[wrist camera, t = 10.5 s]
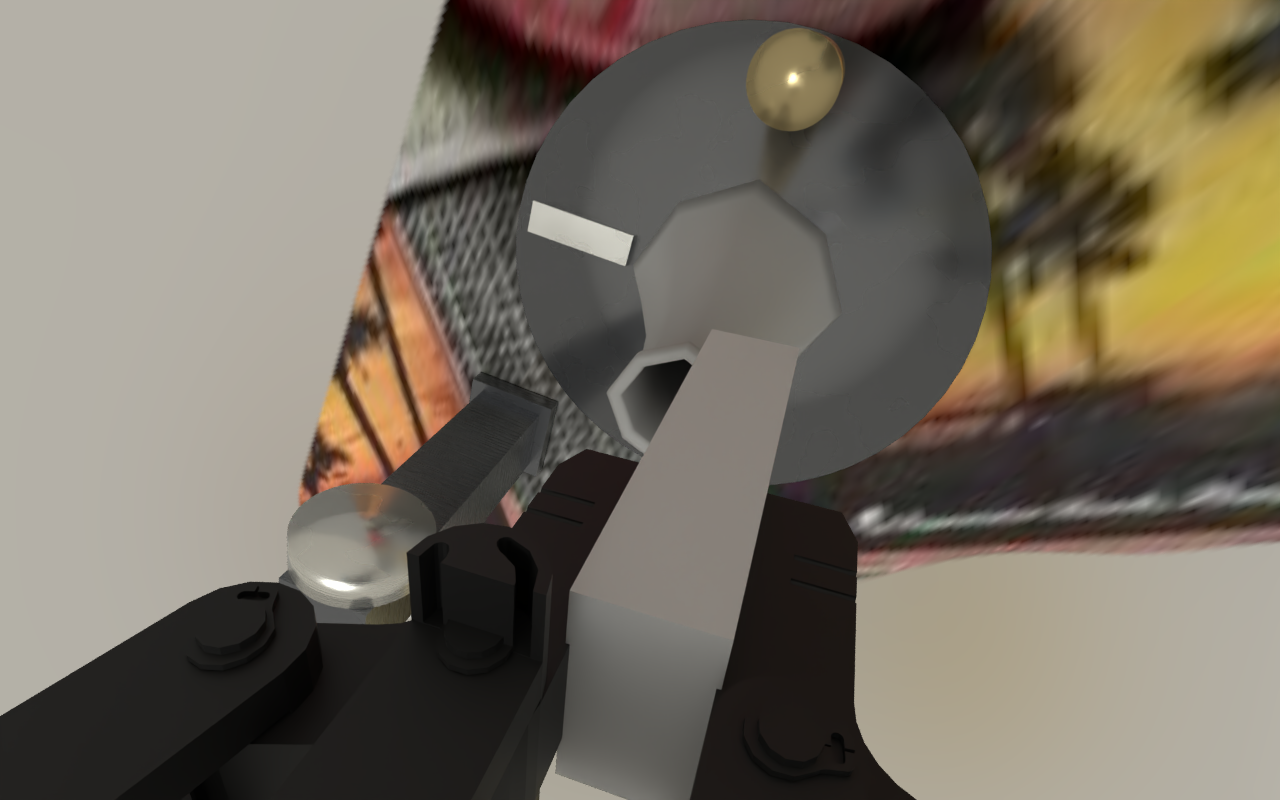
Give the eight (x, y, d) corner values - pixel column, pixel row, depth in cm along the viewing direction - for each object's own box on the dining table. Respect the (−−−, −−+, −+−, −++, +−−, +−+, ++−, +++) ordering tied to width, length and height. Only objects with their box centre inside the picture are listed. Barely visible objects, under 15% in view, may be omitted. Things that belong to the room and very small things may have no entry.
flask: (602, 255, 26) (476, 359, 17) (769, 138, 22) (715, 194, 14) (708, 407, 27) (641, 570, 19) (879, 319, 24) (891, 469, 15)
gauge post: (564, 390, 32) (385, 603, 20) (546, 469, 34) (375, 701, 22) (479, 358, 32) (252, 545, 20) (466, 437, 35) (257, 647, 23)
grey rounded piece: (1082, 110, 22) (1195, 142, 15) (859, 508, 30) (861, 653, 23) (590, -41, 24) (473, -80, 16) (511, 374, 32) (411, 469, 25)
